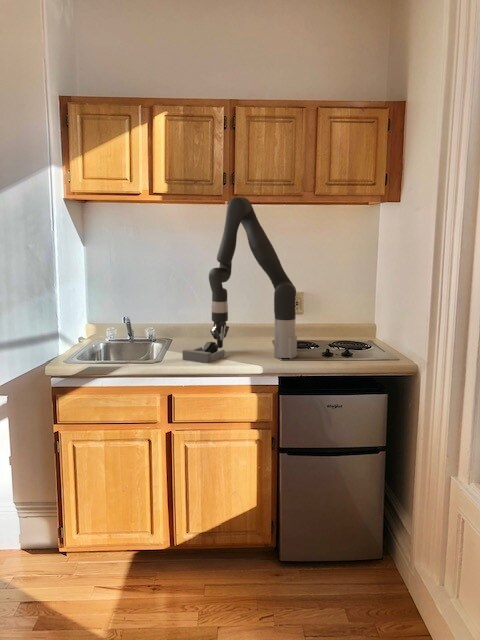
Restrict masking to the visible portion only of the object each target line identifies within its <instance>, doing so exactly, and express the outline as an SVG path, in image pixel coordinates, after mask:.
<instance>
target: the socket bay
mask: <svg viewBox="0 0 480 640" xmlns="http://www.w3.org/2000/svg"><path fill="white" fill-rule="evenodd" d="M202 350H203V346H199V347H195V348H193V349H187V348H186V349H183V350H182V352H181V353H182V360H183V361H190V362H196V363H197V362H198V363H204V364H209V363H211V362H212V363H213V362H215V361H217V360H219V359H222V358H225V357H224V356H226V355H225V353H226V352H225V349H221V350H218V351H217V352H215V353H212V354H211V353H210V352H203V351H202Z"/></svg>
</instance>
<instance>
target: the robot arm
mask: <svg viewBox="0 0 480 640" xmlns="http://www.w3.org/2000/svg"><path fill="white" fill-rule="evenodd" d="M227 203H228V204H227V206H226V215H225V222H224V223H225V224H224V228H223V233H222V237H221V241H220V245H219V248H218V252H217V255H216V261H217V262H218V263H219V267H214V268H211V269H210V271H209V273H208V282H209V286H210V290H211V321H212V322H213V326H212V327H213V328H212V329H210V334H211V335H212V337H213V339H214V340H216V344H217V346H218V349H222V348H223V347H224V346H223V345H224V339H225V338H226V337H227V335H228V332H229V329H230V326H228V325H227V322H228V320H229V306H228V290H227V289H226V288H224V287H223V286H224V285H223V284H224V283H226V282H228V281H229V280H230V278H231V275H232V267H233V265H232V263H233V259H234V255H235V252H236V248H237V241H238V239H237V238H238V237H237V236H238V231H239V227H240V226H241V225H242V227H243V229H244V231H245V234H246V238H247V240H248V241H247V242H248V246H249V248H250V252H251V253H252V255H253V257H254V259H255V260H256V262H257V264H258V265H259V266H260V267H261V269H262V270H263V272H264V273H265V274H266V275H267V277H268V278H269V280H270V282H271V284H272V286H273V288H274V293H273V313H274V330H273V331H274V334H273V335H274V339H273V342H274V345H273V347H274V349H273V350H274V351H273V356H274V358H276V359H281V358H290V359H289V360H291V359H294V358H296V357H297V349H298V348H297V345H298V344H297V343H298V335H297V334H296V297H297V288H296V286H295V285H294V283H293V282H292V280H291V279H290V278H289V276H288V275H287V273H286V272H285V270H284V268H283V266H282V264H281V261H280V259H279V256H278V254H277V252H276V250H275V248H274V246H273V244H272V242H271V241H270V239H269V237H268V236H267V233H266V232H265V230H264V229H263V226H262V225H261V223H260V221H259V219H258V217H257V214H256V212H255V209H254V207H253V204H252V203H251V201H250V200H249V199H248V198H247V197H243V196H236V197H233V198H231V199H230V200H229V201H228V202H227Z"/></svg>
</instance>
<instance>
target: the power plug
mask: <svg viewBox="0 0 480 640" xmlns="http://www.w3.org/2000/svg"><path fill="white" fill-rule="evenodd" d="M202 351H203V352H210V353H211V354H212V353H215V352H218V351H219V348H218V346H217V342H215V341H207V342H206V343H205V344H204V345H203V347H202Z"/></svg>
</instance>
